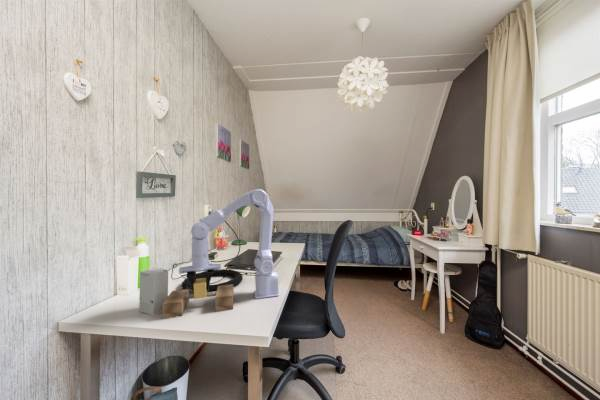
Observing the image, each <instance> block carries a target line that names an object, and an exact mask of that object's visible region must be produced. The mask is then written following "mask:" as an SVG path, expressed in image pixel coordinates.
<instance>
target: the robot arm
mask: <svg viewBox="0 0 600 400" xmlns="http://www.w3.org/2000/svg"><path fill="white" fill-rule="evenodd" d="M248 205H249V206H250V205H252V206H254V207H256V209H257V210H258V211H259V212H260V213H261V214H260V215H261V216H260V224H259V225H260V227H259V239H258V250H257V252H256V255H255V256H256V257H255V258H254V261H253V266H254V267H255V269H256V270H255V271H254V272H255V273H254V278H255V280H254V281H255V290H254V291H253V292H254V297H255V298H254V299H257V300H258V299H264V298H265V299H266V298H273V297H279V296H280V295H279V276H278V272H277V271H274V269H275V264H274V262H273V253H272V251H271V250H272V238H273V237H272V236H273V228H274V227H273V223H274V210H275V209H274V206H273V203H272V202H271V200H270V197H269V194H268V193H267V192H266V191H264V189H261V188H256V189H252V190H250V191H248V192H246V193H244V194H241V195H240V196H238V197H237V198H236V199H234V200H233V201H232V202H231V203H229V204H227V205H226V206H225V207H224V208H222V209H221V210H220V209H215V210H211V211H209V213H210V214H208V215H206V216H205V217H204V218H200V219H198V220H199V222H196V223H195V224H193V225H192V227H191V230H190V232H191V233H190V234H191V235H192V236H191V242H192V243H191V263H192V264H191V265H187V266H181V267H179V268H178V274H180V275H181V274H186V278H188V279H189V281H190V283H191V285H192V288H193V292H194V283H195V281H196V274H197V273H201V272H204V271H207V272H206V291H208V290H209V285H211V283H210V282H211V279H212V278H213V277H212V274H213V272H214V270H222V263H209V262H210V261H209V260H210V259H209V242H208V235H209V232H213V231H214V230H215V229H217V228H218V227H220V226H222V224H224V223H225V222H226V219H227V217H228V216H229V215H231V214H232V213H234V212H236V211H237V210H238V209H241V207H243V206H248Z"/></svg>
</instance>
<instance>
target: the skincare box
mask: <svg viewBox="0 0 600 400" xmlns="http://www.w3.org/2000/svg"><path fill="white" fill-rule="evenodd" d="M168 296H169V270H167V269H164V268H162V267H161V268H159V267H150V268H148V269H143V270H140V272H139V304H138V305H139V308H138V309H139V310H138V311H139V312H141V313H143V314H144V313H145V314H148V315H150V316H155V315H157V314H160V313H163V306H162V304H163V303H164V301H165V300H166V299H167V297H168ZM159 312H160V313H159Z"/></svg>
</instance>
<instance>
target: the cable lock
mask: <svg viewBox="0 0 600 400" xmlns="http://www.w3.org/2000/svg"><path fill="white" fill-rule="evenodd" d="M206 272H207V271H200V272H196V279H200V278H206ZM223 275H226V276H225V277H230V278H233V279H230V280H228V281H226V282H220V283H217V284H209V290H208V292H214V291H217V288H218V286H222V285H231V284H233V287H234V288H236V287H237V286H239V285H240V284H241V283H242V281H243V277H244V276H243V274H242V273H241V272H240V271H238V270H233V269H222V268H221V270H214V272H213V274H212V277H211V278H213V277H215V278H216V277H224V276H223ZM181 287H182V289H181V290H186V289H189V294H194V292H193V288H192V285H191V283H190V281H189V279H188V278H187V277H186V278H185V279H184V280H183V281H182V282H181Z"/></svg>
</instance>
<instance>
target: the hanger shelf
mask: <svg viewBox="0 0 600 400" xmlns="http://www.w3.org/2000/svg"><path fill="white" fill-rule="evenodd" d="M234 289H235V288H233V284H231V285H222V286H218V288H217V291H214V292H206V294H207V296H206V297H205V298H208V297H215V298H214V301H215V302H214V305H215V306H214V307H215V312H222V311H228V310H233V309H234V300H235V299H234V297H235V296H234V295H235V294H234V293H235V291H234ZM192 299H194V294H189V289H186V290H183V289H178V290H172V291H171V292H170V293H169V294H168V297H167V299H166V300H165V301H164V303H163V304H162V306H163V311H162V319H163V318H164V319H169V318H170V317H171V318H176V316H179V317H182V316H183V315H184V313H185V311H186V309H187V307H188V305H189V303H190V300H192ZM171 318H170V319H171Z"/></svg>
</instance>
